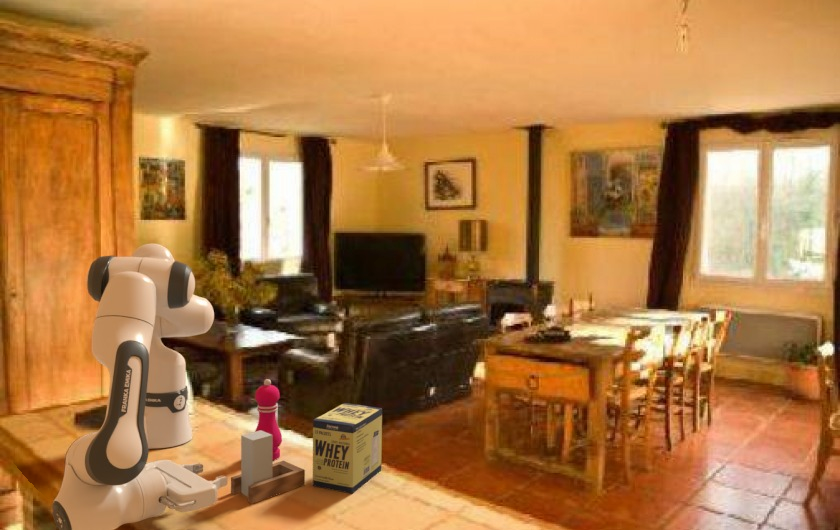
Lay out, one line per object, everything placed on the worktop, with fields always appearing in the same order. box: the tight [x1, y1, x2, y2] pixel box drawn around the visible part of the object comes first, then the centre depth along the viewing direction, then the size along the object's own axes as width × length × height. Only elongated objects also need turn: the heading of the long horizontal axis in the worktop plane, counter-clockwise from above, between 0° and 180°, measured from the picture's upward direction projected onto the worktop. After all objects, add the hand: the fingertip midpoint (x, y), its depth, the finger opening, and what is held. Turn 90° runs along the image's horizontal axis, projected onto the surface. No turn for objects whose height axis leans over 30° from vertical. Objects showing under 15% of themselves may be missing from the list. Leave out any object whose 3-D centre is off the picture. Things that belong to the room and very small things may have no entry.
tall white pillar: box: [240, 430, 274, 498], centre depth 145 cm, size 5×4×13 cm
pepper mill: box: [254, 378, 283, 461], centre depth 166 cm, size 7×7×20 cm
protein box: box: [312, 402, 383, 494], centre depth 154 cm, size 10×16×16 cm
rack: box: [230, 460, 306, 505], centre depth 147 cm, size 14×8×4 cm, turn 138°
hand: (213, 473), depth 137 cm, fingers open, 8 cm apart
